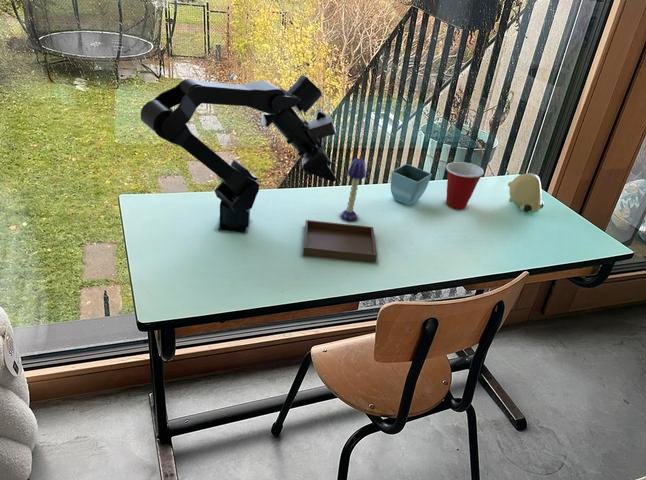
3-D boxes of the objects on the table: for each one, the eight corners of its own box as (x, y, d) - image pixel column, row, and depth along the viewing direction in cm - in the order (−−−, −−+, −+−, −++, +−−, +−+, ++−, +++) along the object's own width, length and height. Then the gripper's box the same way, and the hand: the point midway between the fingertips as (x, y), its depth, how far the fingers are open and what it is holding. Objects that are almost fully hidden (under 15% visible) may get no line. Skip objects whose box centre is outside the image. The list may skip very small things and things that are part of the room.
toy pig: (507, 218, 173) (531, 211, 163) (498, 180, 173) (522, 170, 164) (531, 214, 177) (556, 206, 168) (523, 177, 178) (547, 167, 168)
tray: (302, 255, 132) (303, 247, 131) (304, 227, 143) (305, 219, 142) (375, 263, 135) (376, 255, 133) (371, 234, 145) (373, 226, 144)
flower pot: (425, 201, 166) (432, 173, 161) (411, 211, 160) (418, 182, 155) (400, 190, 169) (406, 163, 164) (385, 200, 163) (390, 171, 158)
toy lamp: (361, 217, 152) (371, 160, 143) (353, 224, 148) (363, 165, 139) (345, 211, 153) (354, 154, 144) (337, 218, 150) (345, 159, 140)
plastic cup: (448, 192, 173) (457, 156, 167) (479, 206, 169) (490, 169, 162) (430, 203, 166) (439, 165, 159) (462, 217, 161) (473, 179, 154)
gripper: (323, 119, 124) (364, 169, 133) (314, 92, 139) (351, 138, 148) (284, 150, 127) (327, 197, 136) (279, 120, 142) (318, 164, 151)
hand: (332, 172), depth 142 cm, fingers open, 9 cm apart
